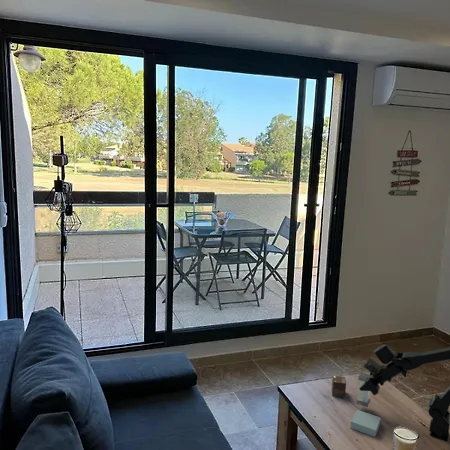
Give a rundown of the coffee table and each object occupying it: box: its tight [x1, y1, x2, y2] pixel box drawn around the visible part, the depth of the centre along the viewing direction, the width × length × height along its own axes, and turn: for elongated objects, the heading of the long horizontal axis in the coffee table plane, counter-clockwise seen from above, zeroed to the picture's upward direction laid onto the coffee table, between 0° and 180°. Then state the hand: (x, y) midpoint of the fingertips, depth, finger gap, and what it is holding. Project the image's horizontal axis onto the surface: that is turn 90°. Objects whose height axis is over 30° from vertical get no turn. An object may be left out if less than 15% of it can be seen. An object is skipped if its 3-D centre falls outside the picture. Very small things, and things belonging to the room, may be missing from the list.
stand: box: [350, 409, 382, 438], centre depth 172 cm, size 10×10×3 cm
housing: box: [355, 371, 373, 408], centre depth 183 cm, size 5×5×13 cm
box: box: [331, 375, 347, 398], centre depth 196 cm, size 6×6×7 cm
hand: (361, 387), depth 184 cm, fingers closed on housing, 4 cm apart
